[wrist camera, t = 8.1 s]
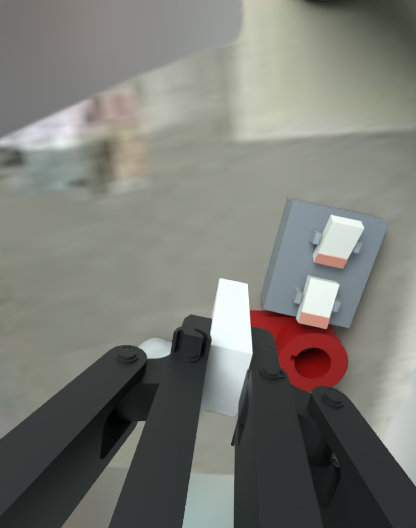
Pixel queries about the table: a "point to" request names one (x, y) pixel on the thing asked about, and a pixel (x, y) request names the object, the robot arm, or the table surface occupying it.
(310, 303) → the rocker
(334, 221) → the rocker
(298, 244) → the panel
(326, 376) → the lever
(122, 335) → the table surface
